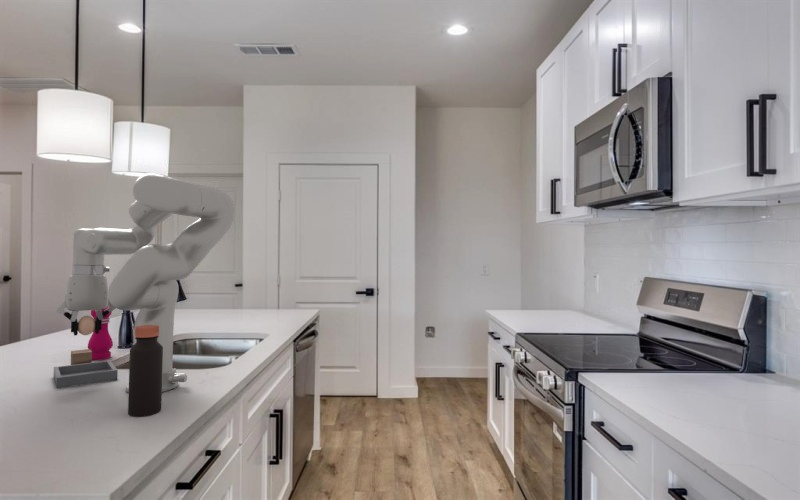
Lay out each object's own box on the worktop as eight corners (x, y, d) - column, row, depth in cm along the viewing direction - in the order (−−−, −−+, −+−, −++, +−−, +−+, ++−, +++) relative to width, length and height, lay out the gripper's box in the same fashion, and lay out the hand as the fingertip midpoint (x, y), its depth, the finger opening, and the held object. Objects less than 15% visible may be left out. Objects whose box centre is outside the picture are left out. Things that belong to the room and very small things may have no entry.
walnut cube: (91, 367, 143) (91, 351, 143) (72, 369, 140) (72, 353, 140) (89, 364, 147) (89, 349, 147) (70, 366, 144) (71, 350, 144)
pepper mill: (116, 357, 156) (118, 299, 156) (93, 361, 150) (95, 301, 150) (106, 354, 160) (107, 298, 160) (83, 358, 154) (84, 299, 154)
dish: (117, 379, 130) (117, 370, 130) (56, 388, 121) (56, 377, 121) (109, 369, 141) (110, 360, 141) (53, 376, 132) (53, 367, 132)
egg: (82, 337, 128) (83, 317, 128) (73, 335, 130) (73, 315, 130) (98, 334, 132) (99, 315, 132) (89, 333, 134) (89, 314, 134)
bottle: (139, 406, 109) (141, 323, 109) (167, 407, 109) (169, 324, 109) (121, 416, 102) (123, 328, 102) (150, 418, 102) (153, 329, 102)
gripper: (119, 270, 140) (117, 329, 139) (50, 270, 129) (48, 334, 129) (124, 271, 134) (122, 333, 134) (52, 272, 123) (50, 339, 123)
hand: (86, 333), depth 131 cm, fingers closed on egg, 4 cm apart
